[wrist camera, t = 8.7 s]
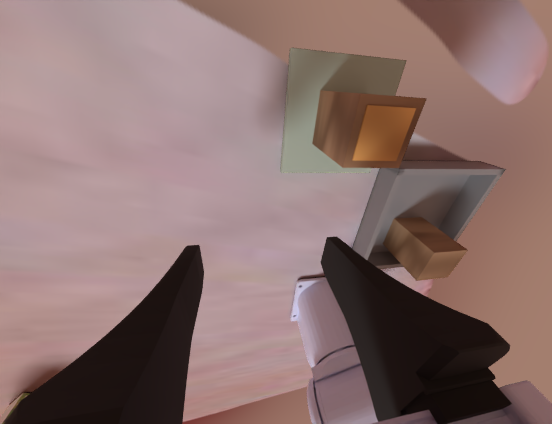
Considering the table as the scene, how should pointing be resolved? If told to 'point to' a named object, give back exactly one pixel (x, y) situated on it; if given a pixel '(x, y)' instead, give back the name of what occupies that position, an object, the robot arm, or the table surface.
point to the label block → (365, 128)
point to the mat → (305, 97)
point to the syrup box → (12, 408)
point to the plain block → (423, 248)
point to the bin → (423, 201)
